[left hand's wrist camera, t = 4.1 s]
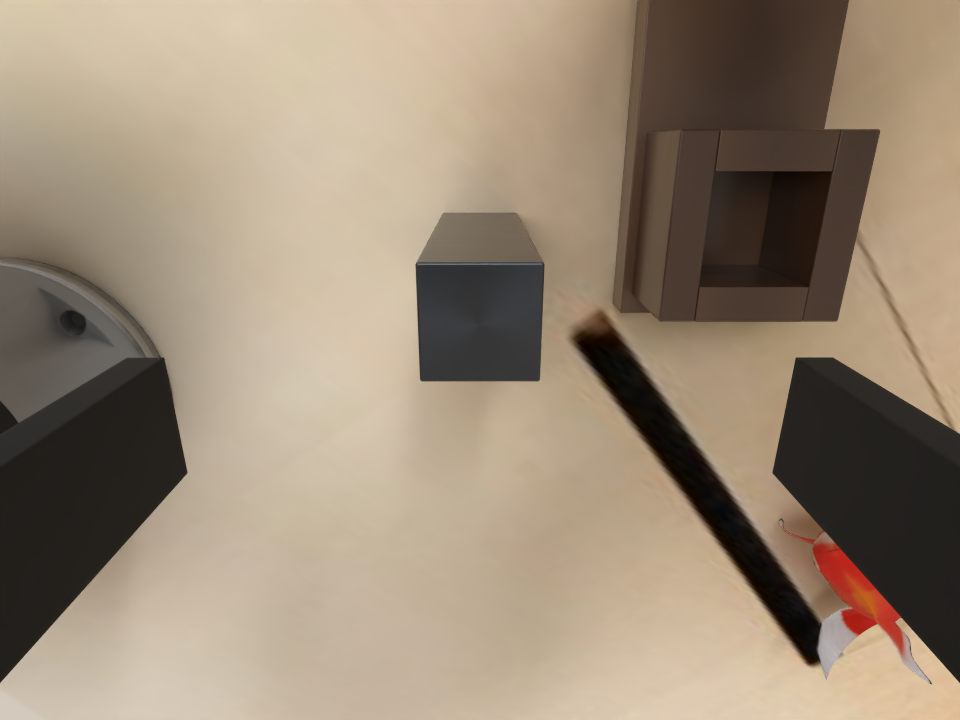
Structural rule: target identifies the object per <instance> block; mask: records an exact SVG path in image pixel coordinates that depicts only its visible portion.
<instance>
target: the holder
mask: <svg viewBox="0 0 960 720" xmlns="http://www.w3.org/2000/svg"><path fill="white" fill-rule="evenodd" d="M848 2H849V0H638V3H637V15H636V27H635V39H634V52H633V64H632V76H631V88H630V100H629V112H628V124H627V136H626V149H625V161H624V173H623V185H622V197H621V209H620V221H619V233H618V246H617V258H616V270H615V282H614V294H613V304H614V305H615V306H616V308H617V309H618V310H619V311H620V312H621V313H652V314H653V315H654V316H655V317H656V318H657V319H658V320H659V321H695V322H801V321H837V320H838V316H839V312H840V307H841V303H842V299H843V294H844V290H845V285H846V281H847V276H848V272H849V267H850V263H851V259H852V254H853V250H854V245H855V241H856V236H857V232H858V227H859V223H860V218H861V214H862V210H863V205H864V201H865V196H866V192H867V187H868V183H869V178H870V174H871V170H872V165H873V161H874V156H875V152H876V147H877V143H878V138H879V134H880V130H878V129H824V127H825V121H826V116H827V111H828V106H829V101H830V95H831V90H832V85H833V80H834V75H835V70H836V64H837V59H838V54H839V49H840V44H841V38H842V33H843V28H844V23H845V18H846V13H847V7H848Z"/></svg>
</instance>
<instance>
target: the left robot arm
mask: <svg viewBox="0 0 960 720" xmlns="http://www.w3.org/2000/svg"><path fill="white" fill-rule="evenodd" d="M186 474H187V468H186V463H185V458H184V454H183V449H182V444H181V439H180V434H179V429H178V424H177V419H176V414H175V409H174V404H173V399H172V394H171V389H170V385H169V380H168V375H167V370H166V365H165V360H164V358H160V357H159V355H158V353H157V351H156V349H155V347H154V346H153V344H152V342H151V340H150V339H149V338H148V336H147V335H146V333H145V332H144V330H143V329H142V328H141V327H140V325H139V324H138V323H137V322H136V321H135V319H134V318H133V317H132V316H131V315H130V314H129V313H128V312H127V311H126V310H125V309H124V308H123V307H122V306H121V305H119V304H118V303H117V302H116V301H115V300H114V299H113V298H111V297H110V296H109V295H107V294H106V293H105V292H103V291H102V290H100V289H99V288H97V287H96V286H94V285H93V284H91V283H89V282H88V281H86V280H84V279H82V278H80V277H78V276H76V275H74V274H72V273H70V272H67V271H65V270H62V269H60V268H57V267H54V266H51V265H48V264H44V263H40V262H35V261H31V260H24V259H14V258H0V682H1V681H2V680H3V679H4V678H5V677H6V676H7V675H8V674H9V672H10V671H11V670H12V669H13V668H14V667H15V666H16V665H17V663H18V662H19V661H20V660H21V659H22V658H23V657H24V656H25V654H26V653H27V652H28V651H29V650H30V649H31V648H32V647H33V646H34V644H35V643H36V642H37V641H38V640H39V639H40V638H41V637H42V635H43V634H44V633H45V632H46V631H47V630H48V629H49V628H50V626H51V625H52V624H53V623H54V622H55V621H56V620H57V619H58V617H59V616H60V615H61V614H62V613H63V612H64V611H65V610H66V609H67V607H68V606H69V605H70V604H71V603H72V602H73V601H74V600H75V598H76V597H77V596H78V595H79V594H80V593H81V592H82V591H83V589H84V588H85V587H86V586H87V585H88V584H89V583H90V582H91V581H92V579H93V578H94V577H95V576H96V575H97V574H98V573H99V572H100V570H101V569H102V568H103V567H104V566H105V565H106V564H107V563H108V561H109V560H110V559H111V558H112V557H113V556H114V555H115V554H116V553H117V551H118V550H119V549H120V548H121V547H122V546H123V545H124V544H125V542H126V541H127V540H128V539H129V538H130V537H131V536H132V535H133V533H134V532H135V531H136V530H137V529H138V528H139V527H140V526H141V524H142V523H143V522H144V521H145V520H146V519H147V518H148V517H149V516H150V514H151V513H152V512H153V511H154V510H155V509H156V508H157V507H158V505H159V504H160V503H161V502H162V501H163V500H164V499H165V498H166V496H167V495H168V494H169V493H170V492H171V491H172V490H173V489H174V488H175V486H176V485H177V484H178V483H179V482H180V481H181V480H182V479H183V477H184V476H185V475H186ZM773 474H774V475H775V476H776V477H777V479H778V480H779V481H780V482H781V483H782V484H783V485H784V486H785V488H786V489H787V490H788V491H789V492H790V493H791V494H792V495H793V496H794V498H795V499H796V500H797V501H798V502H799V503H800V504H801V505H802V507H803V508H804V509H805V510H806V511H807V512H808V513H809V514H810V516H811V517H812V518H813V519H814V520H815V521H816V522H817V523H818V524H819V526H820V527H821V528H822V529H823V530H824V531H825V532H826V533H827V535H828V536H829V537H830V538H831V539H832V540H833V541H834V542H835V544H836V545H837V546H838V547H839V548H840V549H841V550H842V551H843V553H844V554H845V555H846V556H847V557H848V558H849V559H850V560H851V561H852V563H853V564H854V565H855V566H856V567H857V568H858V569H859V570H860V572H861V573H862V574H863V575H864V576H865V577H866V578H867V579H868V581H869V582H870V583H871V584H872V585H873V586H874V587H875V588H876V589H877V591H878V592H879V593H880V594H881V595H882V596H883V597H884V598H885V600H886V601H887V602H888V603H889V604H890V605H891V606H892V607H893V609H894V610H895V611H896V612H897V613H898V614H899V615H900V616H901V617H902V619H903V620H904V621H905V622H906V623H907V624H908V625H909V626H910V628H911V629H912V630H913V631H914V632H915V633H916V634H917V635H918V637H919V638H920V639H921V640H922V641H923V642H924V643H925V644H926V646H927V647H928V648H929V649H930V650H931V651H932V652H933V653H934V654H935V656H936V657H937V658H938V659H939V660H940V661H941V662H942V663H943V665H944V666H945V667H946V668H947V669H948V670H949V671H950V672H951V674H952V675H953V676H954V677H955V678H956V679H957V680H958V681H959V682H960V434H959V433H957V432H956V431H954V430H952V429H951V428H949V427H947V426H946V425H944V424H942V423H941V422H939V421H937V420H936V419H934V418H932V417H931V416H929V415H927V414H926V413H924V412H922V411H921V410H919V409H917V408H916V407H914V406H912V405H911V404H909V403H907V402H906V401H904V400H902V399H901V398H899V397H897V396H896V395H894V394H892V393H891V392H889V391H887V390H886V389H884V388H882V387H881V386H879V385H877V384H876V383H874V382H872V381H871V380H869V379H868V378H866V377H864V376H863V375H861V374H859V373H858V372H856V371H854V370H853V369H851V368H849V367H848V366H846V365H844V364H843V363H841V362H839V361H838V360H836V359H834V358H796V360H795V365H794V370H793V375H792V380H791V385H790V389H789V394H788V399H787V404H786V409H785V414H784V419H783V424H782V429H781V434H780V439H779V444H778V449H777V454H776V458H775V463H774V468H773Z"/></svg>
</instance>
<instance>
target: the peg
mask: <svg viewBox="0 0 960 720" xmlns="http://www.w3.org/2000/svg"><path fill="white" fill-rule="evenodd" d="M543 286H544V263H543V261H542V259H541V257H540V255H539V253H538V251H537V250H536V248H535V246H534V244H533V242H532V240H531V239H530V237H529V235H528V233H527V231H526V229H525V227H524V226H523V224H522V222H521V220H520V218H519V216H518V215H517V213H443V214H442V216H441V218H440V220H439V222H438V224H437V226H436V227H435V229H434V231H433V233H432V235H431V237H430V238H429V240H428V242H427V244H426V246H425V248H424V250H423V251H422V253H421V255H420V257H419V259H418V261H417V262H416V287H417V312H418V338H419V364H420V380H421V381H539V380H540V363H541V337H542V311H543Z"/></svg>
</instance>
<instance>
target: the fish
mask: <svg viewBox="0 0 960 720" xmlns="http://www.w3.org/2000/svg"><path fill="white" fill-rule="evenodd" d="M778 524H779V525H780V526H781V528H782V529H783V530H784V531H785V532H787V533H788V534H790V535H791V536H793V537H795V538H797V539H799V540H801V541H804V542H808V543H813V544H814V545H813V562H814V565H815V567H816V568H817V569H818V570H819V571H820V572H821V573H822V574H823V575H824V577H825V578H826V580H827V581H828V582H829V584H830V586H831V587H832V588H833V590H834V591H835V592H836V593H837V595H838V596H839V597H840V598H841V599H842V600H843V601H844V602H845V603H847V604H848V605H849V606H850V607H847V608H843V609H839V610H838V611H836V612H835V613H833V614H832V615H830V616H829V617H828V618H826V619H825V620H824V621H823V622H821V623H820V629H819V635H818V641H817V646H816V653H817V656H818V659H819V661H820V664H821V667H822V669H823V672H824V675H825V678H826V680H827V677H828V673H829V671H830V669H831V667H832V666H833V664H834V662H835V661H836V659H837V658H838V656H839V655H840V654H841V652H842V651H843V650H844V649H845V648H846V647H847V646H848V645H849V643H850V642H852V641H853V640H854V639H855V638H856V637H857V636H859V635H860V634H861V633H863V632H864V631H866V630H867V629H869V628H871V627H872V626H874V625H876V624H878V625H879V626H880V627H881V629H882V630H883V631H884V632H885V633H886V635H887V636H888V637H889V639H890V640H891V642H892V643H893V645H894V646H895V647H896V649H897V651H898V653H899V656H900V658H901V660H902V662H903V663H904V664H905V665H906V666H907V667H908V668H909V669H910V670H912V671H913V672H914V673H915V674H917V675H918V676H920V677H921V678H923V679H924V680H926V681H927V682H928V683H930V684H932V683H931V681H930V680H929V679H928V678H927V677H926V675H925V674H924V673H923V672H922V670H921V669H920V668H919V667H918V665H917V664H916V662H915V661H914V659H913V657H912V654H911V644H910V640H909V638H908V637H907V635H906V634H905V633H904V632H903V631H902V630H901V629H900V628H899V626H898V625H897V624H896V623H895V621H897V620H898V619H899V618H902V617H901V616H900V615H899V614H898V613H897V612H896V611H895V610H894V609H893V607H892V606H891V605H890V604H889V603H888V602H887V601H886V600H885V598H884V597H883V596H882V595H881V594H880V593H879V592H878V591H877V589H876V588H875V587H874V586H873V585H872V584H871V583H870V582H869V581H868V579H867V578H866V577H865V576H864V575H863V574H862V573H861V572H860V570H859V569H858V568H857V567H856V566H855V565H854V564H853V563H852V561H851V560H850V559H849V558H848V557H847V556H846V555H845V554H844V553H843V551H842V550H841V549H840V548H839V547H838V546H837V545H836V544H835V542H834V541H833V540H832V539H831V538H830V537H829V536H828V535H827V533H826V532H825V531H822V532H821V533H820V534H819V536H818V537H817V539H816V540H813V539H807V538H803V537H799V536H796V535H793V534H791V533H790V532H788V531H787V530H786V529H784V527H783V526H784V521H783V520H782V519H780V521H779V523H778Z"/></svg>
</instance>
